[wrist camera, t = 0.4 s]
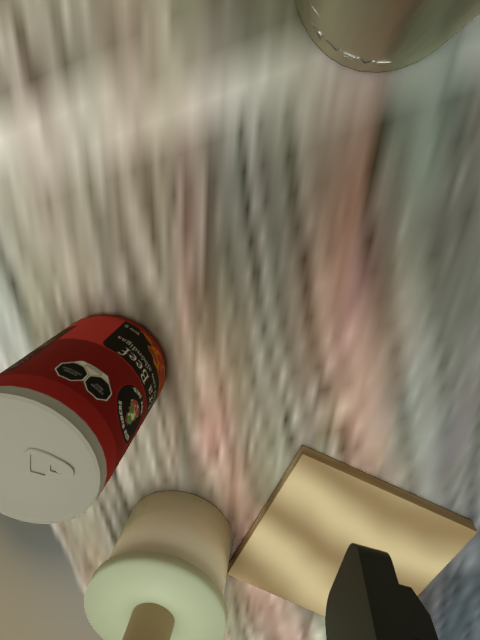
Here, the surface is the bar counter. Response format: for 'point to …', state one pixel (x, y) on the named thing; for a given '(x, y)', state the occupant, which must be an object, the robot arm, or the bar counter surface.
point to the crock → (180, 532)
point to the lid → (154, 599)
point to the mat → (342, 531)
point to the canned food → (73, 416)
